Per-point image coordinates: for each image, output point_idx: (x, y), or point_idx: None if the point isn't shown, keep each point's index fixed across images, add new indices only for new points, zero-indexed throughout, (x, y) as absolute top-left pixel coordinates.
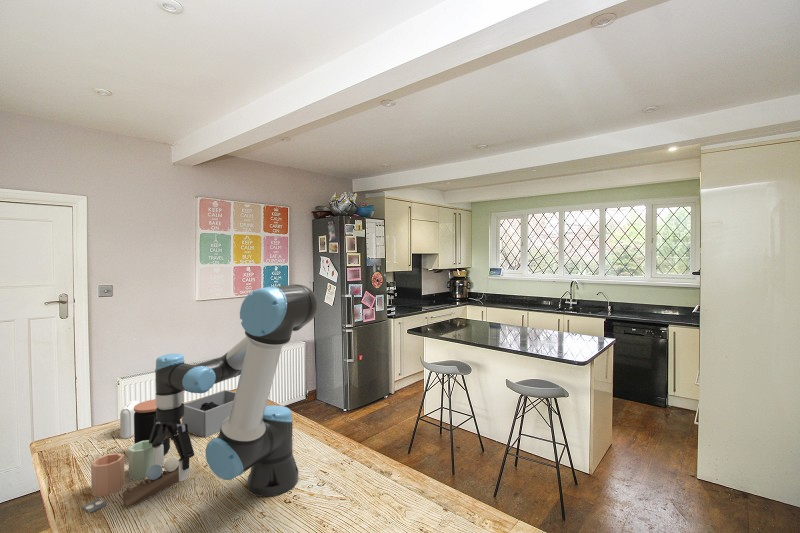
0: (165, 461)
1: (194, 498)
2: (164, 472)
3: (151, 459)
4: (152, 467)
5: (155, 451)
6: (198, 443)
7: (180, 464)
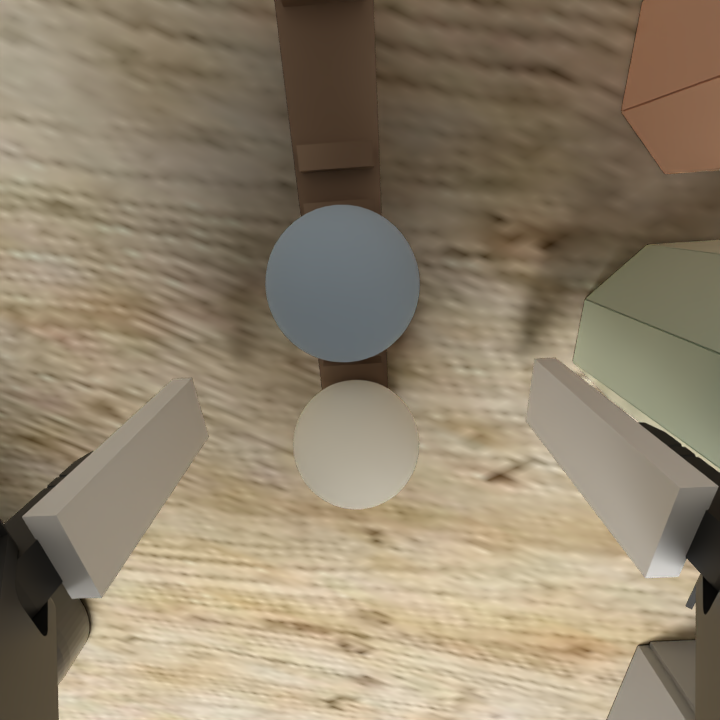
0: (393, 431)
1: (78, 362)
2: (352, 363)
3: (664, 396)
4: (325, 274)
5: (641, 462)
6: (623, 609)
7: (71, 476)
